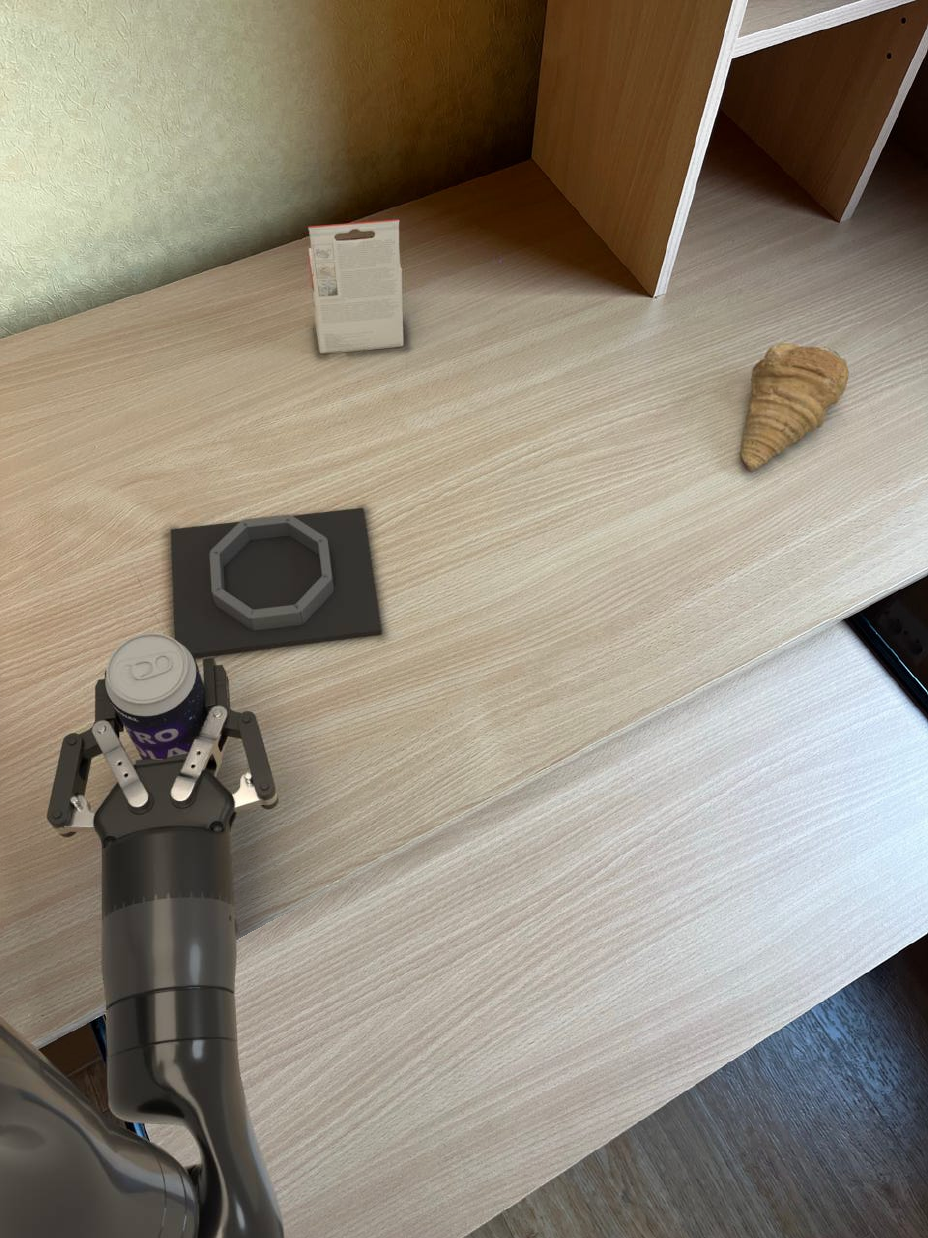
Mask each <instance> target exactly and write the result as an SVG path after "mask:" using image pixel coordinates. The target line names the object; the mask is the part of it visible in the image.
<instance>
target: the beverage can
mask: <svg viewBox="0 0 928 1238" xmlns="http://www.w3.org/2000/svg"><path fill="white" fill-rule="evenodd" d="M105 670H106V676H105V675H104V679H105V690H106V694H107V696H108V698H109V700H110V702H111V704H112V706H113V707H114V709H115V711H116V713H117V715H118V716H119V718H120V720H121V722H122V724H123V725H124V730H125V731H126V733H127V734H128V737H129V738H130V739H131V742H132V744H133V745H134V747H135V749H136V750H137V752H138V754H139V756H140V758H141V760H143V759H155V760H164V759H166V758H169V757H172V756H174V755H181V754H187V755H188V753H189V751H190V748H191V746H192V744H193V741H194V739H195V737H196V736H197V735H199V733H200V731H201V729H202V727H203V724H204V722H205V720H206V717H207V715H208V713H207V710H206V708H205V686H204V678H203V677H202V674H201V671H200V668H199V666H198V663H197V660H196V658H194V656H193V655H192V653H191V652H190V651H189V650H188V649H187V648H186V647H185V646H184V645H182V644H181V643H179V642H177V641H176V640H175V638H173V637H171V636H169V635H166V634H163V633H158V632H145V633H140V634H137V635H134V636H131V637H130V638H128V639H126V640H124V641H123V642H121V643H120V645H118V646H117V647H116V648H115V649H114V650H113V652H112V654H111V655H110V657H109V660H108V661H107V665H106V669H105Z"/></svg>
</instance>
